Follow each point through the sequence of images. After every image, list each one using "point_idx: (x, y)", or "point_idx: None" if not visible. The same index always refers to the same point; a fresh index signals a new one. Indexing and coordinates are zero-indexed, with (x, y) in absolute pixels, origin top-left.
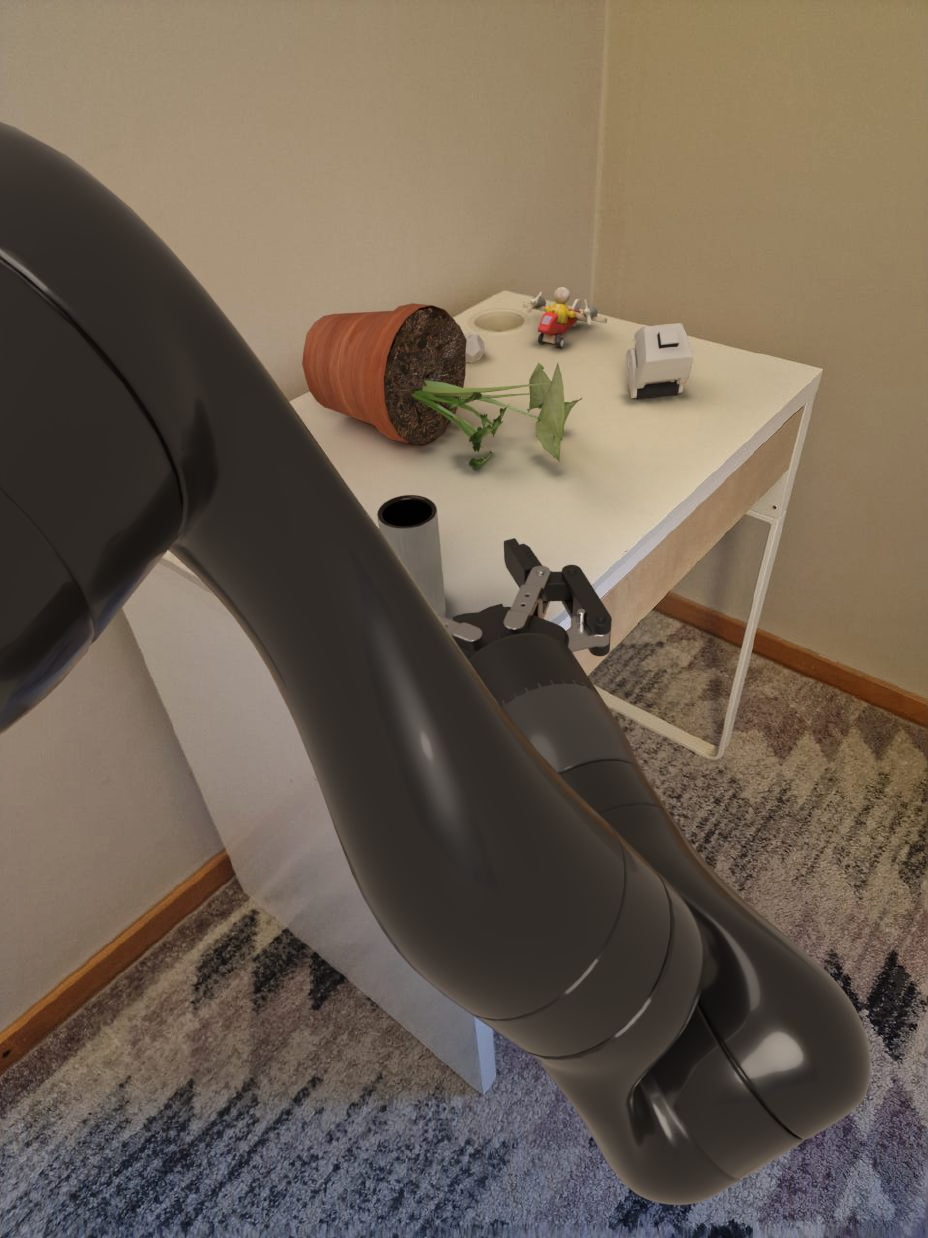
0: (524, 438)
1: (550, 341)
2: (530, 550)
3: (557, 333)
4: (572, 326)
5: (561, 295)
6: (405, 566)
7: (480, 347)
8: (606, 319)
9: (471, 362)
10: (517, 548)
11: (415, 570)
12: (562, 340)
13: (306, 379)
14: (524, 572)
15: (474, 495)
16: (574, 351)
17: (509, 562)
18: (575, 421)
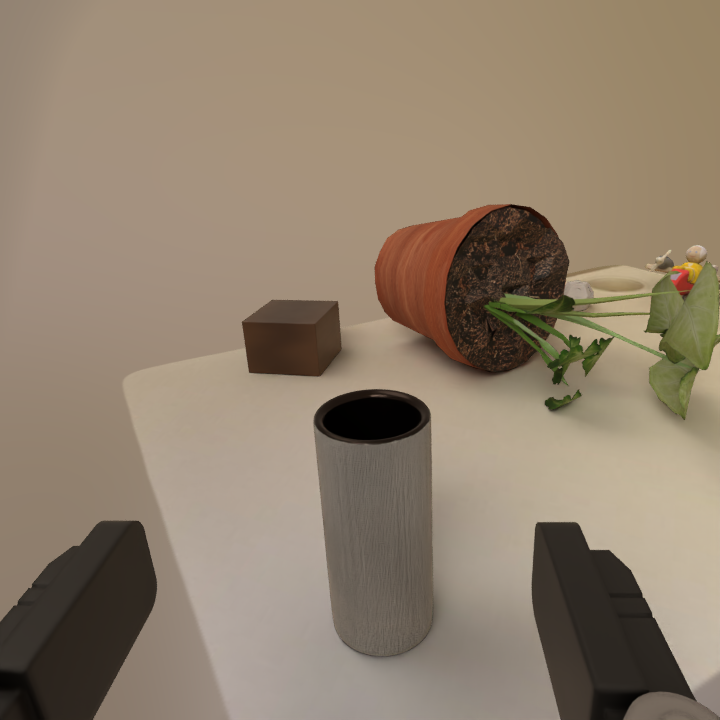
0: (630, 387)
1: None
2: (633, 587)
3: (686, 293)
4: None
5: (696, 253)
6: (345, 522)
7: (588, 295)
8: None
9: (575, 310)
10: (579, 566)
11: (363, 535)
12: None
13: (376, 284)
14: (592, 700)
15: (542, 442)
16: None
17: (543, 605)
18: (708, 380)
